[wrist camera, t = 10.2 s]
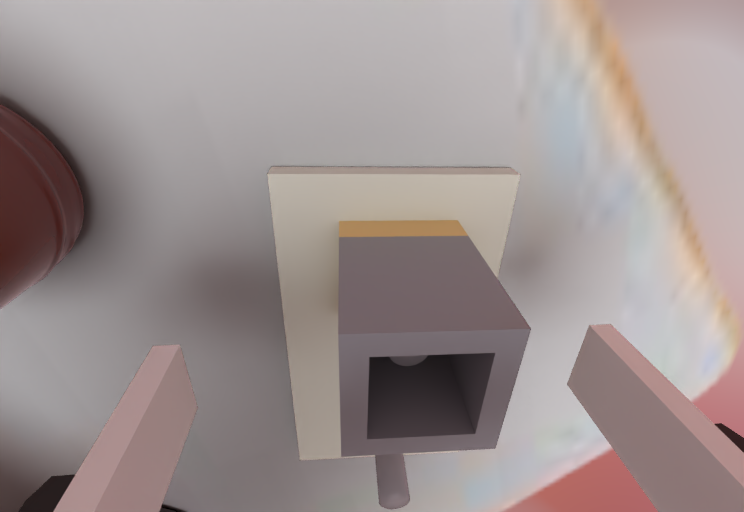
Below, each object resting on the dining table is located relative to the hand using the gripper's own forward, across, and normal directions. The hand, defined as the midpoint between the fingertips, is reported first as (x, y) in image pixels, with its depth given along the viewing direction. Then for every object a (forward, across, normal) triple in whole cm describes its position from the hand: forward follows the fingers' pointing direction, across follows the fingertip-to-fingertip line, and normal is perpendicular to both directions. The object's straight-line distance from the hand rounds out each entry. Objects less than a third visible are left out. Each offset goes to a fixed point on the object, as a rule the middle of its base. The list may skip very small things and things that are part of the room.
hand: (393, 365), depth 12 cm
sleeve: (+5, +1, 0) cm, 5 cm away
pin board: (+6, +1, -4) cm, 8 cm away
